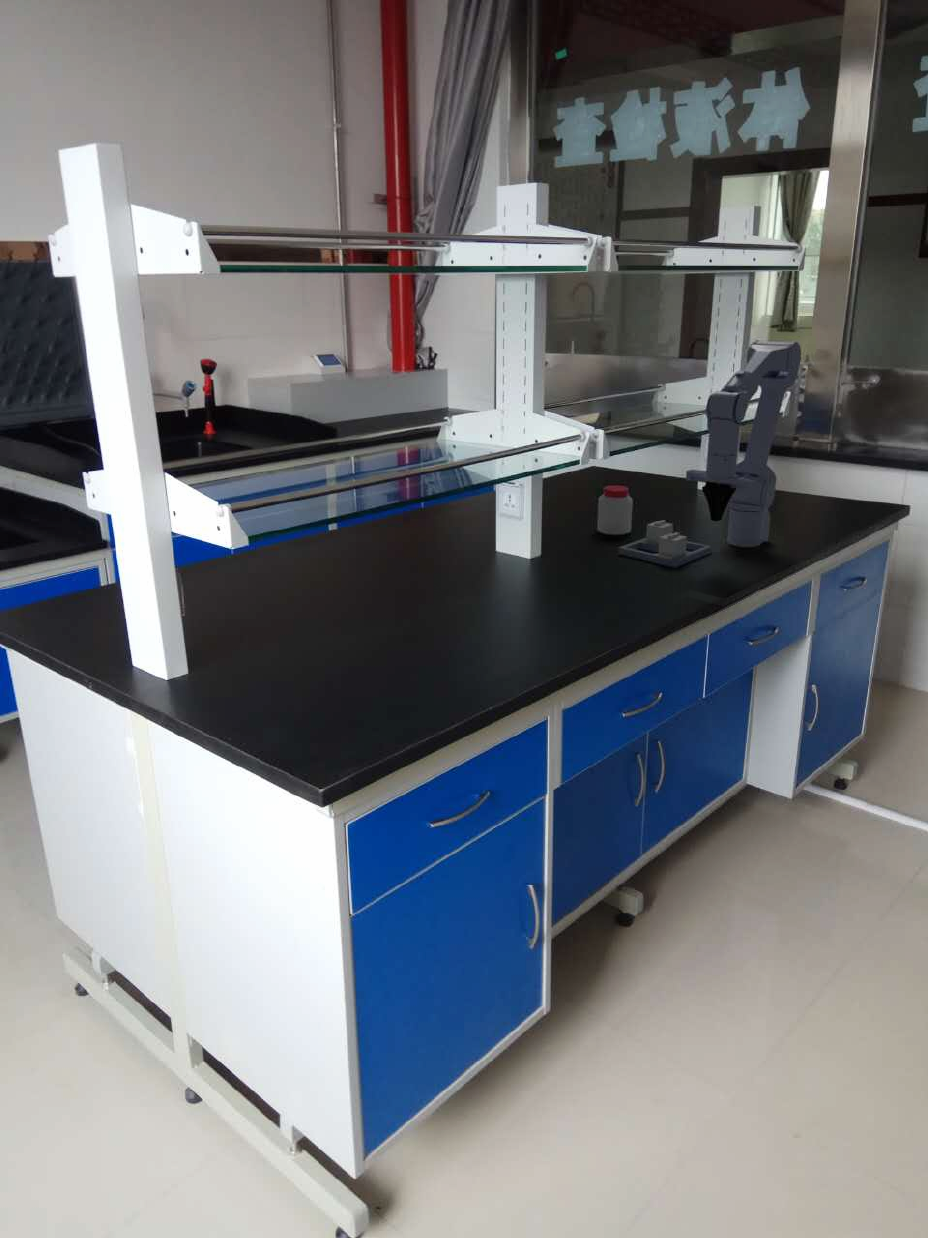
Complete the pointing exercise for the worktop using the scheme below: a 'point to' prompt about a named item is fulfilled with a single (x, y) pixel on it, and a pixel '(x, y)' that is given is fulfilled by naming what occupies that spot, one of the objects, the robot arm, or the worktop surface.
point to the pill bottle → (615, 511)
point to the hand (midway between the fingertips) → (716, 520)
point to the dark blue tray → (632, 551)
